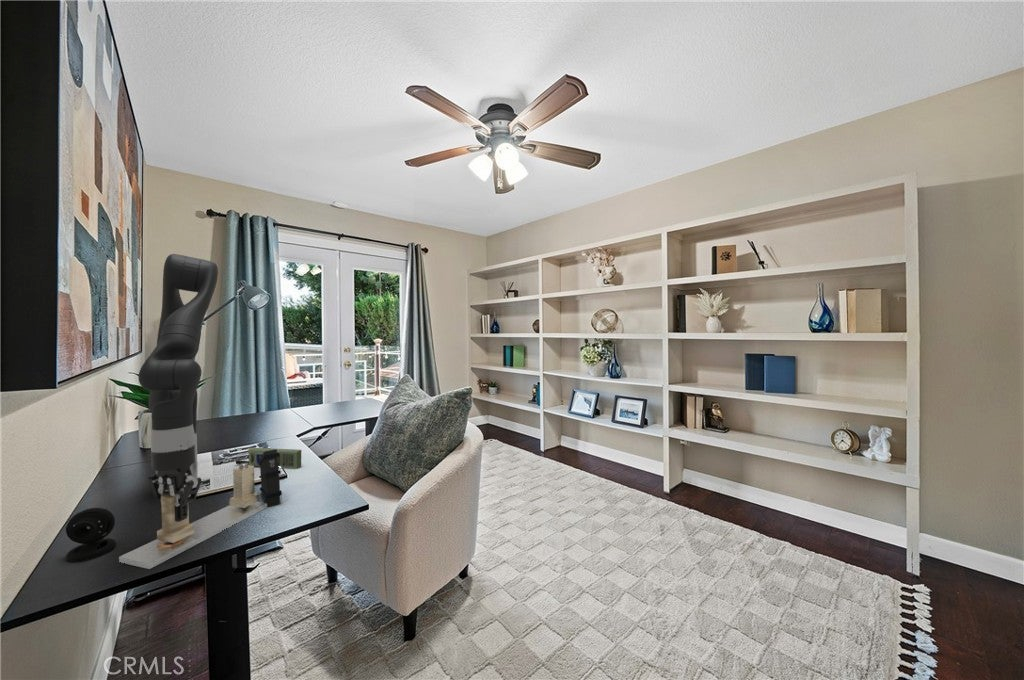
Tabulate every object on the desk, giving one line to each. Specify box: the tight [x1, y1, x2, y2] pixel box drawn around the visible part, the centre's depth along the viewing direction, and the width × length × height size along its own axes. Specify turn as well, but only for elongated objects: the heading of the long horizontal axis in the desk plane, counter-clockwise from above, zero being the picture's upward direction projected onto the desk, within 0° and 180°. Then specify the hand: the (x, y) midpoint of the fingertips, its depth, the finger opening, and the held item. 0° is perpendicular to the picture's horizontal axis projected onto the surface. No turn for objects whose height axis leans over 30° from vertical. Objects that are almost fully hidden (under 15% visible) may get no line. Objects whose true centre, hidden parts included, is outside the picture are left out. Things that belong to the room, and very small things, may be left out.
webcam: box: [65, 507, 117, 563], centre depth 84 cm, size 8×8×10 cm
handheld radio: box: [235, 447, 302, 470], centre depth 137 cm, size 7×3×25 cm
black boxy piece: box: [258, 448, 283, 508], centre depth 111 cm, size 4×13×15 cm, turn 42°
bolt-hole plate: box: [118, 463, 268, 570], centre depth 93 cm, size 9×28×13 cm, turn 165°
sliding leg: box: [156, 489, 194, 543], centre depth 87 cm, size 5×4×12 cm
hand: (175, 518), depth 87 cm, fingers closed on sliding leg, 3 cm apart
